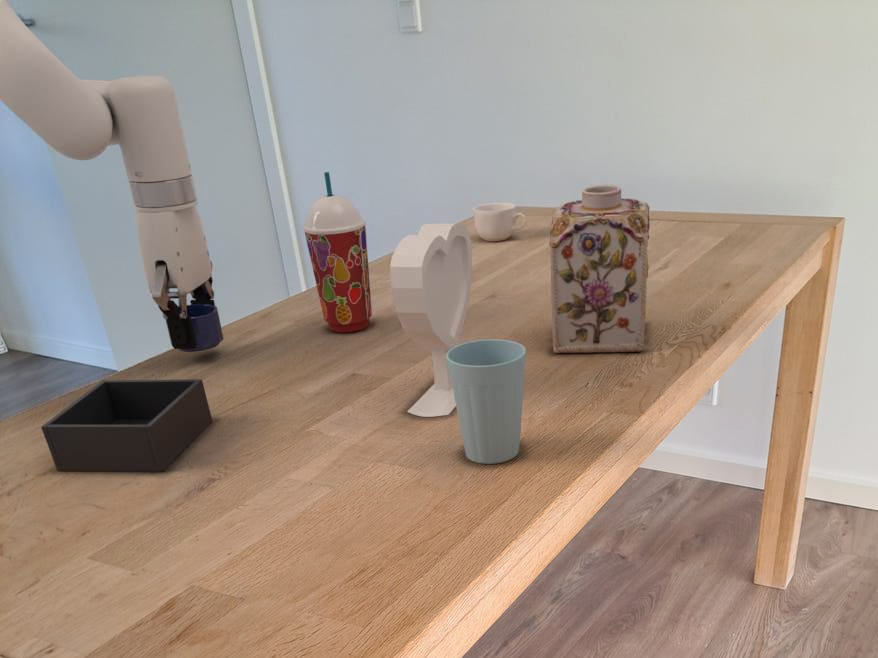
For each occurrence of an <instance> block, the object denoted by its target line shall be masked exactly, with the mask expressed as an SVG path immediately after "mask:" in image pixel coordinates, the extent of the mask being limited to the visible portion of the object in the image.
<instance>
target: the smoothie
mask: <svg viewBox="0 0 878 658" xmlns="http://www.w3.org/2000/svg"><path fill="white" fill-rule="evenodd" d="M323 173H324V174H323V175H324V180H325V186H326V195H324V196H322V197H320V198H318V199H317V200H315V202H314V203H313V204H311V207H310V208H309V209H308V212H307V215H306V219H305V224H304V226H303V227H302V229H303V231H304V236H305V240H306V246H307V249H308V254H309V258H310V263H311V267H312V271H313V276H314V280H315V284H316V289H317V293H318V298H319V302H320V306H321V311H322V315H323V320H324V322H325V323H326V324H328V327H329V329H330V330H331V331H333V332H336V333H342V334H343V333H344V334H345V333H355V332H359V331H362V330H364V329H366V328H367V327H368V326H369V325H370V318H372V315H373V310H372V309H373V308H372V296H371V283H370V267H369V256H368V243H367V241H368V240H367V230H366V220H365V219H364V218H363V217H362V215H361V213H360V211H359V209H358V208H357V207H356V206H355V204H354V203H352V201H351V200H349V199H348V198H346V197H344V196H341V195H337V194H333V190H332V182H331V177H330V172H329V171H326V172H323Z"/></svg>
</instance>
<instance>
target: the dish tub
mask: <svg viewBox="0 0 878 658" xmlns="http://www.w3.org/2000/svg"><path fill="white" fill-rule="evenodd" d="M212 423H213V417H212V413H211V410H210V405H209V401H208V398H207V393H206V390H205V387H204V382H203V379H202V378H199V379H190V378H189V379H188V378H187V379H102V380H101V381H100V382H98V383H97V384H96V385H94V386H93V387H92V388H90V389H89V390H88V391H87V392H85V393H83V394H82V395H81V396H79V397H78V398H77V399H76V400H74V401H73V402H72V403H70V404H69V405H68V406H67V407H65V408H64V409H62V410H61V411H60V412H59V413H57V414H56V415H54V416H53V417H52V418H51V419H49V420H48V421H46V422H45V423H43V425H41V426H40V428H41V431H42V433H43V437H44V439H45V441H46V444H47V447H48V449H49V453H50V455H51V458H52V461H53V462H54V466H55V469H56V471H57V472H58V471H59V472H134V473H135V472H137V473H138V472H141V473H143V472H144V473H145V472H149V473H150V472H152V473H153V472H155V473H164V472H165V471H166V470H167V469H168V468H169V467H170V466H171V465H172V463H174V462H175V461H176V460H177V459H178V457H180V455H182V454H183V452H184V451H186V449H187V448H188V447H189V446H190V445H191V444H192V443H193V442H194V441H195V440H196V439H197V438H198V437H199V436H200V435H201V434H202V433H203V432H204V431H205V430H206V429H207V428H208V427H209V426H210V425H211V424H212Z"/></svg>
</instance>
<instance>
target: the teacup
mask: <svg viewBox="0 0 878 658" xmlns="http://www.w3.org/2000/svg"><path fill="white" fill-rule="evenodd" d="M472 212H473V213H472V214H473V221H474V227H475V230H476V232H477V234H478V236H479V237H480V238H481V239H483V240H484V241H487V242H501V241H505V240H508V239H509V238H510V237H511V236H512V235H513V234H514V232H517V231H519V230H521V229H523V228H524V227H525V226H526V223H527V218H526V216H525V214H524V213H522V212H517V205H516V204H515V203H512V202H487V203H480V204H478V205H475V206H474V207H473V208H472ZM518 217H522V224H521V225H519V226H516V225H517V219H518Z"/></svg>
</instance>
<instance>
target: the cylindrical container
mask: <svg viewBox="0 0 878 658" xmlns="http://www.w3.org/2000/svg"><path fill="white" fill-rule="evenodd" d="M187 317H191V321H192V325H193V330H194V334H195V338H196V343H197V347H196V348H195V349H178V350H179V351H181V352H186V353H195V352H203V351H204V352H205V351H208V350H211V349H214V348H216V347H218V346H219V345H220V343H221V342H223V340H224V334H223V333H224V332H223V329H222V328H223V327H222V324H221V318H220V314H219V309H218V307H217V306H216V305H215V306H214V305H210V304H191V303H190V304H187ZM164 320H165V324H166V328H167V332H168V336H169V340H170V344H171V346H172V342H171V338H170V334H169V330H168V325H167V321H166V319H164Z"/></svg>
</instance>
